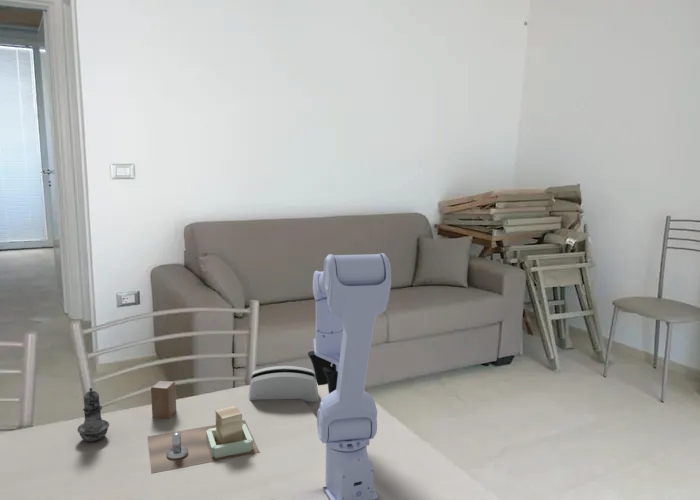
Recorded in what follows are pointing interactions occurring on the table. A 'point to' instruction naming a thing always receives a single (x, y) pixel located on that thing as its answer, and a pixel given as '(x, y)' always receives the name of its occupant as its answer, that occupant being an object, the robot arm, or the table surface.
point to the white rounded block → (283, 383)
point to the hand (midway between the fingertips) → (328, 391)
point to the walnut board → (194, 444)
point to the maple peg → (228, 425)
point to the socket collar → (229, 444)
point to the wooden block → (163, 399)
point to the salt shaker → (92, 418)
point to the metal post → (176, 448)
